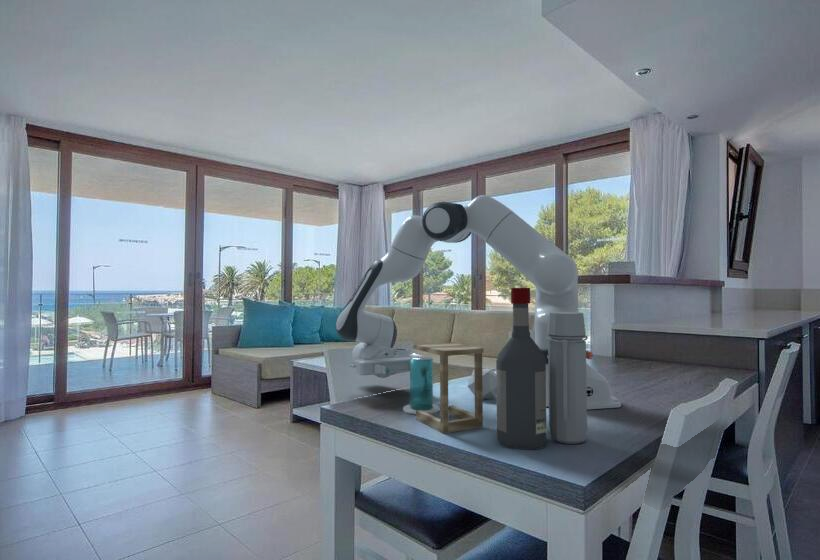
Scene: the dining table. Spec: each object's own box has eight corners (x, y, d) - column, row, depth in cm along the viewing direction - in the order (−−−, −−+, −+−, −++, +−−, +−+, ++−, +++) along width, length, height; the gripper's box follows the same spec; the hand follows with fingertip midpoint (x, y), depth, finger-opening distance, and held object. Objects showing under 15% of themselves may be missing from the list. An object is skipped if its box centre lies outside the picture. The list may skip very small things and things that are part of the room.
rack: (414, 418, 108) (414, 344, 108) (451, 413, 113) (451, 342, 113) (444, 434, 96) (443, 351, 97) (484, 427, 101) (483, 348, 101)
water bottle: (549, 431, 98) (547, 311, 98) (589, 436, 95) (588, 312, 95) (543, 445, 89) (542, 313, 90) (588, 451, 86) (586, 314, 87)
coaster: (437, 405, 120) (437, 402, 120) (441, 414, 111) (441, 412, 111) (402, 405, 120) (402, 403, 120) (403, 415, 111) (403, 412, 111)
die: (496, 405, 123) (510, 373, 127) (468, 389, 123) (482, 357, 127) (486, 409, 130) (499, 378, 134) (459, 394, 130) (473, 364, 134)
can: (431, 404, 119) (431, 356, 119) (433, 410, 113) (433, 359, 113) (409, 404, 118) (409, 356, 119) (410, 410, 113) (410, 359, 113)
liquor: (496, 447, 88) (494, 288, 89) (500, 433, 97) (498, 288, 98) (546, 451, 86) (544, 287, 86) (545, 436, 95) (544, 287, 95)
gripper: (347, 352, 131) (366, 359, 119) (412, 348, 141) (436, 354, 128) (347, 375, 131) (366, 384, 119) (412, 370, 141) (436, 378, 128)
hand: (403, 369), depth 124 cm, fingers open, 8 cm apart
